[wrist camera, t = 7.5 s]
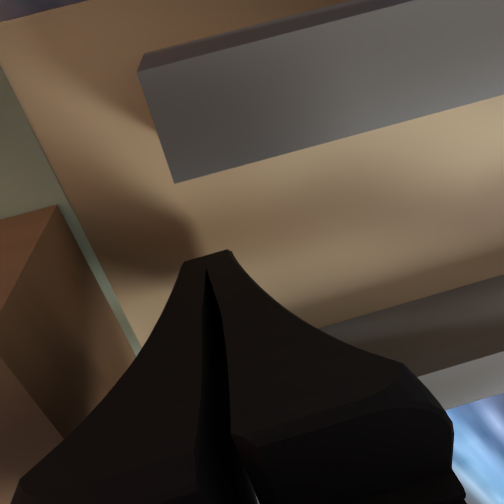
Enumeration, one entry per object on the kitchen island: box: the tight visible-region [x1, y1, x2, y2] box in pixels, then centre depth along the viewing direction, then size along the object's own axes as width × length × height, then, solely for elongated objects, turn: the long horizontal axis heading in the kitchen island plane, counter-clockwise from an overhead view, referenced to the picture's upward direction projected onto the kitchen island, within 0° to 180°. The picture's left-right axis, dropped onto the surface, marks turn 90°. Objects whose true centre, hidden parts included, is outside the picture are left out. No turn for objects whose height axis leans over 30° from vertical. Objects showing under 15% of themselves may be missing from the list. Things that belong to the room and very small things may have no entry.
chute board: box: [0, 0, 504, 410], centre depth 12 cm, size 14×24×4 cm, turn 102°
